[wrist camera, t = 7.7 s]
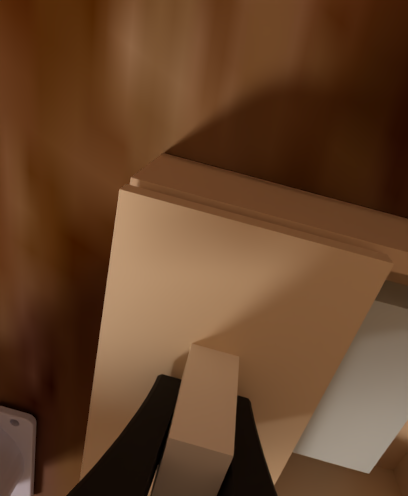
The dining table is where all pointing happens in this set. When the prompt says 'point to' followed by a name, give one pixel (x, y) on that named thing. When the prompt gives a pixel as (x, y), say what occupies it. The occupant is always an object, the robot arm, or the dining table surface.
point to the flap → (221, 331)
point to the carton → (359, 352)
